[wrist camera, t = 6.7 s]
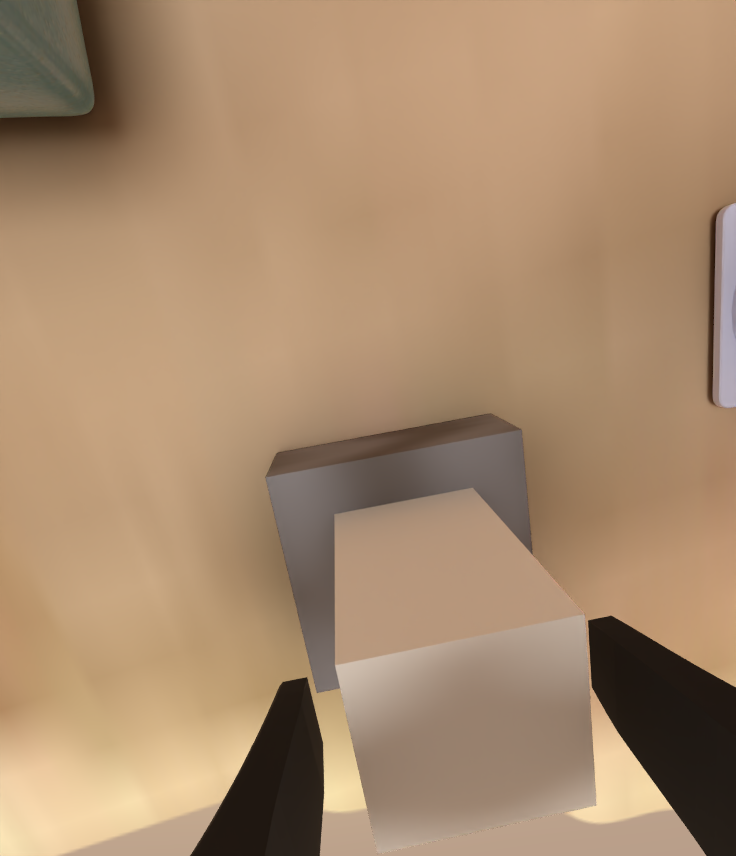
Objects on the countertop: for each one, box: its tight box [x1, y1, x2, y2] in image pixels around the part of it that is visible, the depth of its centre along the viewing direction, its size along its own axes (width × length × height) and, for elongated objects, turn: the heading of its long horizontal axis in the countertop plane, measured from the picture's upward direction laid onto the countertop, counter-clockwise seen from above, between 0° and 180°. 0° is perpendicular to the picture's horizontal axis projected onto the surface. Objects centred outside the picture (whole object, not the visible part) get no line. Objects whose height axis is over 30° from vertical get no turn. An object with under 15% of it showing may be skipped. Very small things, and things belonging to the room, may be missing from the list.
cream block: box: [334, 488, 596, 854], centre depth 12 cm, size 5×5×7 cm
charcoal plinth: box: [265, 414, 533, 693], centre depth 17 cm, size 9×9×3 cm
